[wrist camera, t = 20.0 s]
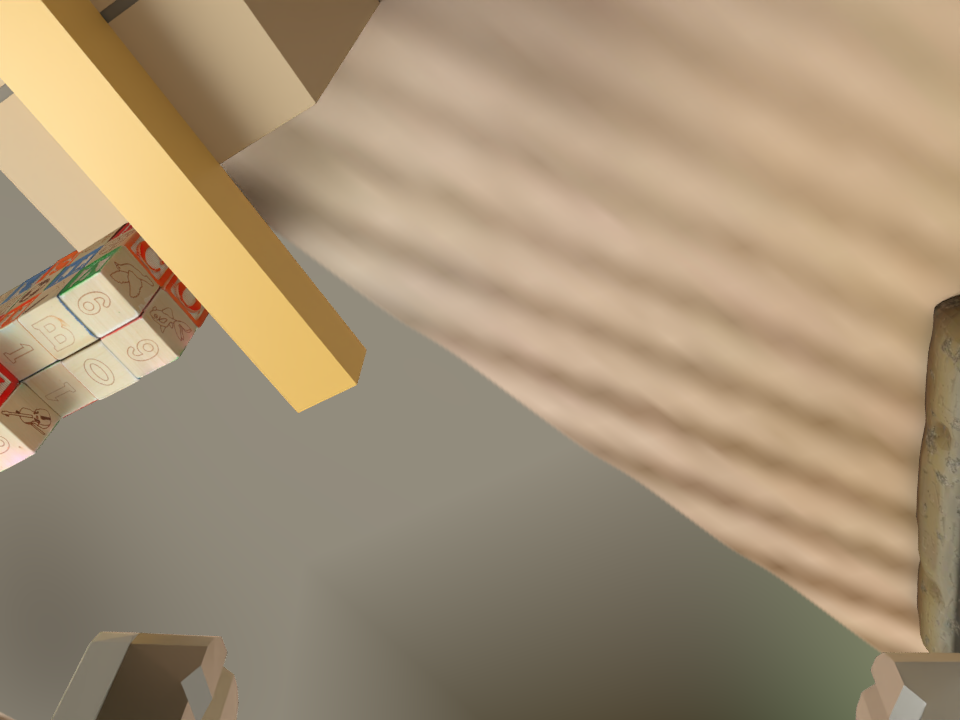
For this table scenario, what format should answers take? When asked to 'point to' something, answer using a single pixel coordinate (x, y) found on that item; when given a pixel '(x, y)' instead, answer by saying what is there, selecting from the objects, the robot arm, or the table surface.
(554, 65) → the table surface
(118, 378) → the stack of blocks
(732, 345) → the table surface
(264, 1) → the cardboard box
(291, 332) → the tan wooden beam
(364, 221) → the table surface
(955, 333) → the grey open box
